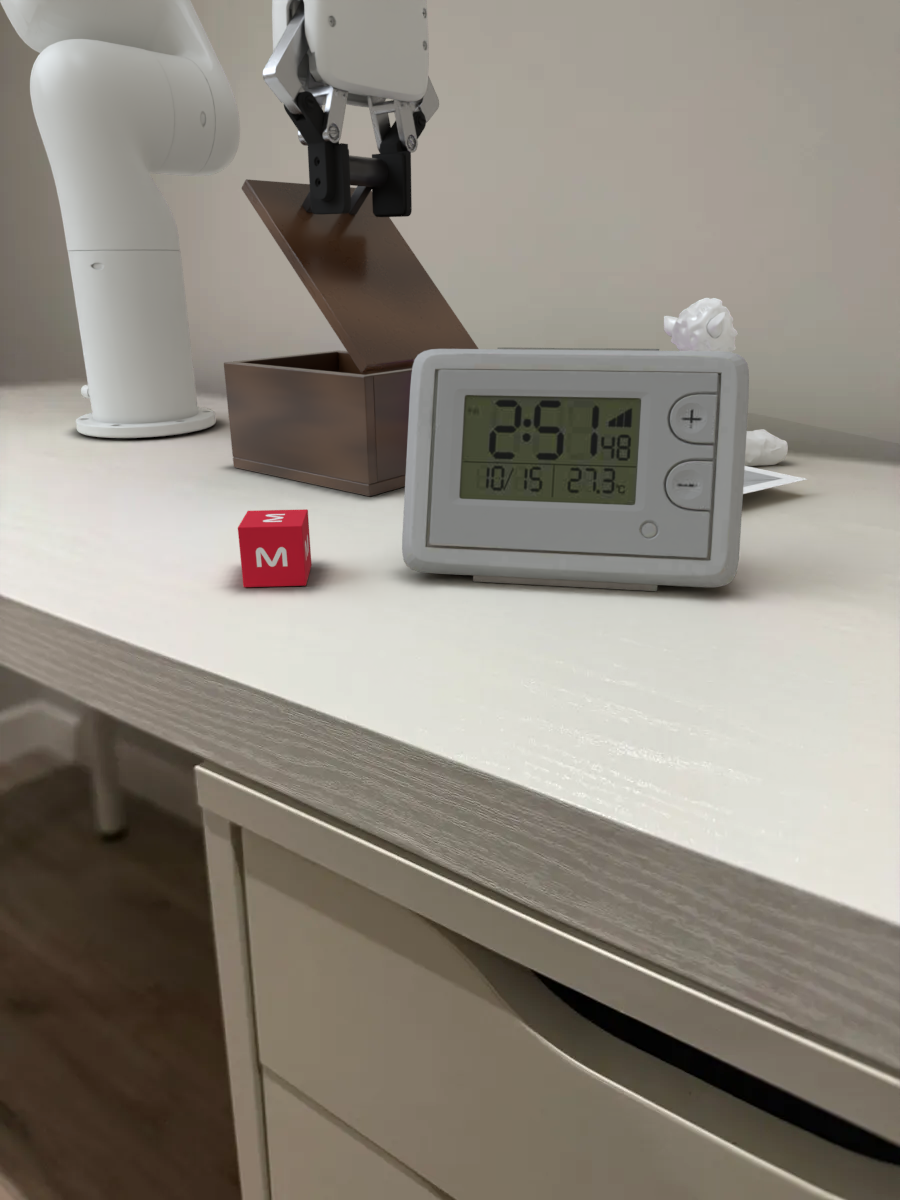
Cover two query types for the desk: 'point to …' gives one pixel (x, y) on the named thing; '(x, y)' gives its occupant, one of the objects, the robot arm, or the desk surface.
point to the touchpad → (765, 479)
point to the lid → (360, 271)
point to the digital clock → (576, 466)
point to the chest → (320, 420)
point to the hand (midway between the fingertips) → (362, 212)
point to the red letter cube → (275, 548)
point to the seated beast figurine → (714, 331)
